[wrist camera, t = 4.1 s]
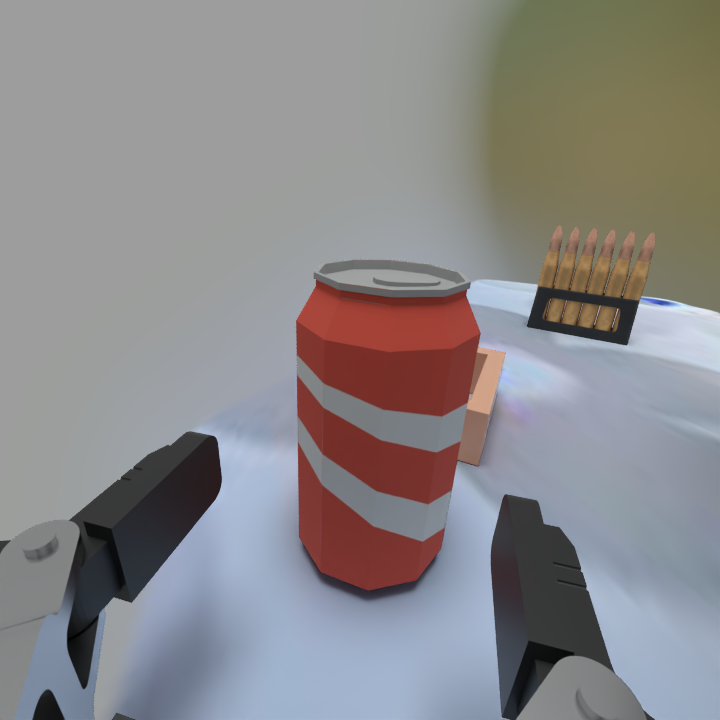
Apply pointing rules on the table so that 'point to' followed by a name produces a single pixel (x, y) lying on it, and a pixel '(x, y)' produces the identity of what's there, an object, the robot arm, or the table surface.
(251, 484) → the table surface
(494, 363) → the terracotta collar
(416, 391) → the beverage can
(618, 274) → the ammunition clip
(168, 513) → the robot arm
